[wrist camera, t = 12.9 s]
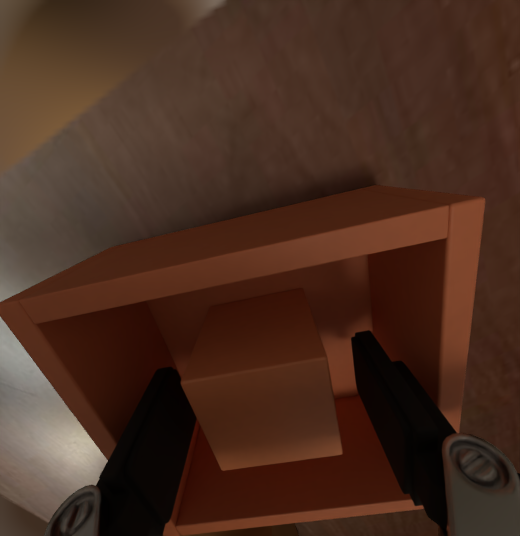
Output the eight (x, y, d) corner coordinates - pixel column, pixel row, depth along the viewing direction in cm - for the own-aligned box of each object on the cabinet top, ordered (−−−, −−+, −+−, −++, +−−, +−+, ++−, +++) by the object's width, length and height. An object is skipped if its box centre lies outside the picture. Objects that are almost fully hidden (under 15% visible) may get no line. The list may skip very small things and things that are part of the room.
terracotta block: (234, 375, 14) (221, 471, 9) (209, 305, 12) (178, 383, 8) (316, 361, 13) (343, 455, 9) (302, 286, 12) (327, 357, 7)
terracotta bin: (195, 421, 16) (164, 537, 11) (111, 246, 12) (-9, 306, 6) (386, 392, 15) (451, 506, 10) (377, 184, 10) (488, 196, 5)
